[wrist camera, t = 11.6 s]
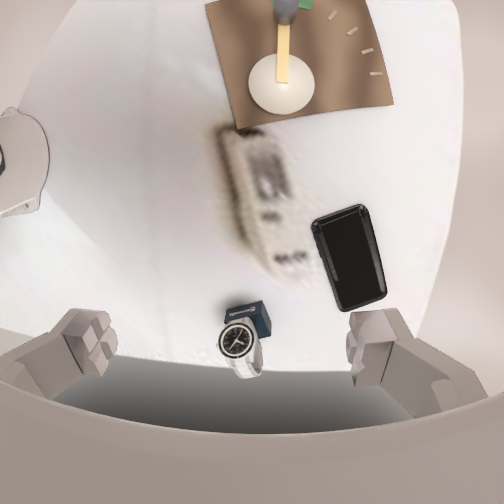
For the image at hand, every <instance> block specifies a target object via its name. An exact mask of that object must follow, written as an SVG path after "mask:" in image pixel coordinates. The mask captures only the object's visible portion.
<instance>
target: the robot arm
mask: <svg viewBox="0 0 504 504" xmlns="http://www.w3.org/2000/svg"><path fill="white" fill-rule="evenodd" d="M48 164H49V153H48V145H47V141H46V137H45V134H44V132H43V130H42V128H41V126H40V125H39V123H38V122H37V121H36V120H35V119H33V118H32V117H30V116H27V115H22V114H20V113H19V112H18V111H17V110H16V109H15V108H14V107H9V108H7V109H6V110H5V111H4V112H3V114H2V115H1V116H0V217H3V216H10V215H17V214H24V213H31V212H34V211H37V210H38V208H39V201H40V192H41V189H42V187H43V185H44V182H45V180H46V176H47V172H48ZM110 323H111V319H110V317H109V314H108V313H107V312H105V311H98V310H89V309H78V308H73V309H70V310H69V311H68V312H67V313H66V314H65V315H64V317H63V318H62V319H61V320H60V321H59V322H58V323H57V325H56V326H55V327H54V328H53V329H52V330H51V332H50V333H49V332H46V333H44V334H42V335H40V336H38V337H36V338H34V339H32V340H30V341H28V342H27V343H25V344H23V345H21V346H19V347H17V348H15V349H13V350H11V351H9V352H7V353H5V354H3V355H2V356H0V504H504V392H502V393H499V394H497V395H494V396H491V397H488V395H487V393H486V392H485V390H484V388H483V386H482V384H481V383H480V381H479V379H478V377H477V376H476V374H475V372H474V371H473V370H471V369H470V368H468V367H467V366H465V365H463V364H461V363H460V362H458V361H456V360H454V359H453V358H451V357H450V356H447V355H446V354H444V353H443V352H441V351H439V350H438V349H436V348H434V347H432V346H431V345H429V344H427V343H426V342H424V341H422V340H420V339H419V338H416V339H414V337H413V335H412V334H411V332H410V330H409V328H408V326H407V325H406V323H405V321H404V319H403V317H402V316H401V314H400V312H399V310H398V309H397V308H389V309H381V310H374V311H361V312H351V315H350V320H349V324H350V327H351V330H350V331H349V332H348V334H347V340H346V353H347V359H348V362H349V363H351V364H352V368H351V375H352V378H353V382H354V386H355V387H361V386H372V385H380V386H381V387H382V388H383V389H384V390H385V391H386V392H387V393H388V394H389V395H390V396H391V397H392V398H394V399H395V400H396V401H397V402H398V403H399V404H400V405H401V406H402V407H403V408H404V409H405V410H406V411H407V412H408V413H410V414H411V416H413V417H414V419H411V420H406V421H402V422H396V423H391V424H385V425H379V426H373V427H366V428H358V429H350V430H341V431H331V432H319V433H303V434H231V433H215V432H203V431H193V430H184V429H176V428H168V427H161V426H155V425H149V424H143V423H138V422H132V421H128V420H122V419H118V418H113V417H109V416H104V415H101V414H97V413H93V412H89V411H85V410H81V409H78V408H75V407H71V406H68V405H65V404H61V403H58V402H55V401H52V399H53V398H54V397H56V396H57V395H58V394H60V393H61V392H62V391H63V390H65V389H66V388H67V387H69V386H70V385H71V384H72V383H74V382H75V381H76V380H78V379H79V378H80V377H81V376H83V374H85V375H91V376H97V377H102V376H103V374H104V372H105V370H106V369H107V367H108V365H109V363H108V359H110V358H111V357H113V356H114V354H115V353H116V351H117V345H118V340H117V335H116V333H115V331H114V330H113V329H112V328H111V327H110Z"/></svg>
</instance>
